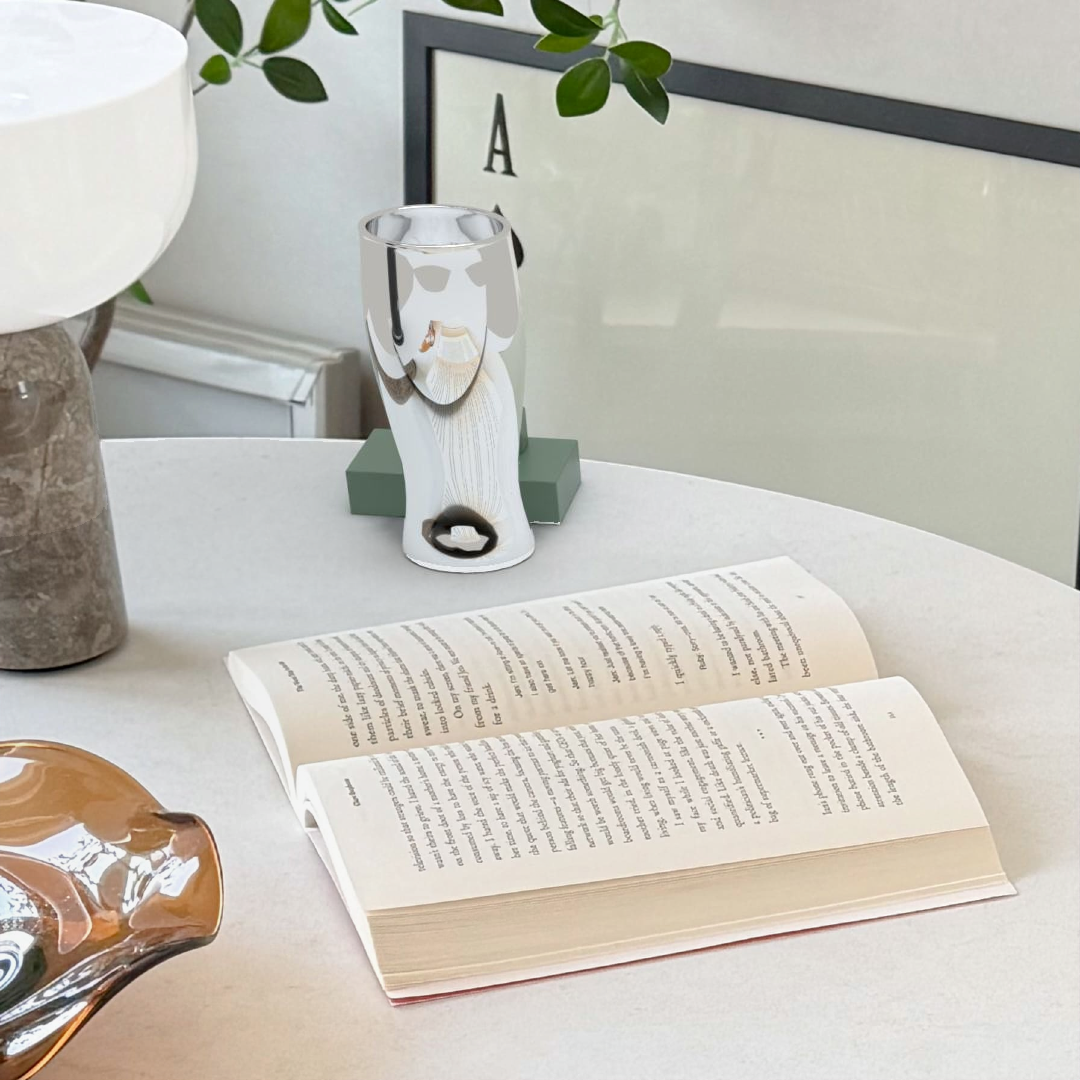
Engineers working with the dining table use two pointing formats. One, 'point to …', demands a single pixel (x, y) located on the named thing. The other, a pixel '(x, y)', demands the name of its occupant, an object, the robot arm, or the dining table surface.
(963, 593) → the dining table surface
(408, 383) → the beer glass
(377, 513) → the green block
